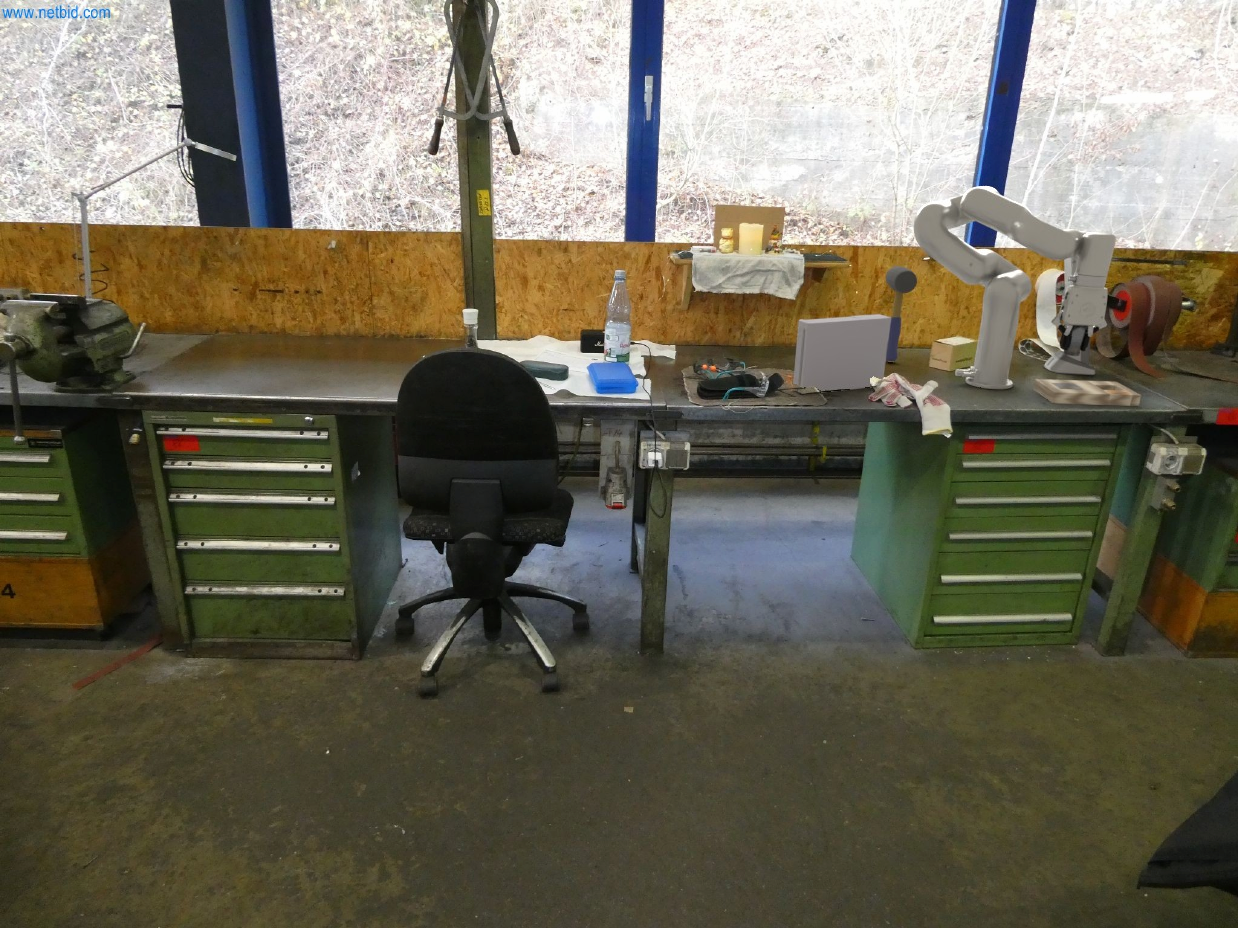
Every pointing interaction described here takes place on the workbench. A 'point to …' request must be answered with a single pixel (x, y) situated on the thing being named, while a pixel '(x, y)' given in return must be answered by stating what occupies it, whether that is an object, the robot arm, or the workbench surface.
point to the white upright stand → (1060, 360)
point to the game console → (841, 351)
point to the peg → (1075, 340)
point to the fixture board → (1086, 392)
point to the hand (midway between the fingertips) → (1072, 348)
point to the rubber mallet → (898, 304)
